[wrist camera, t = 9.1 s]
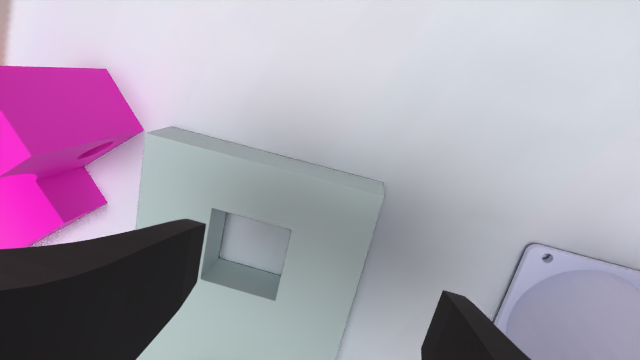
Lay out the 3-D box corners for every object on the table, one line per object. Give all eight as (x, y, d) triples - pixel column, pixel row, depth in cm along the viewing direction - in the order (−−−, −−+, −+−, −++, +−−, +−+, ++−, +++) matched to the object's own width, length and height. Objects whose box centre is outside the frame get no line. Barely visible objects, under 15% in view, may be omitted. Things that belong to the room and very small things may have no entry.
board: (383, 182, 20) (384, 196, 18) (302, 456, 26) (295, 494, 24) (171, 126, 21) (145, 133, 19) (137, 403, 27) (114, 435, 24)
